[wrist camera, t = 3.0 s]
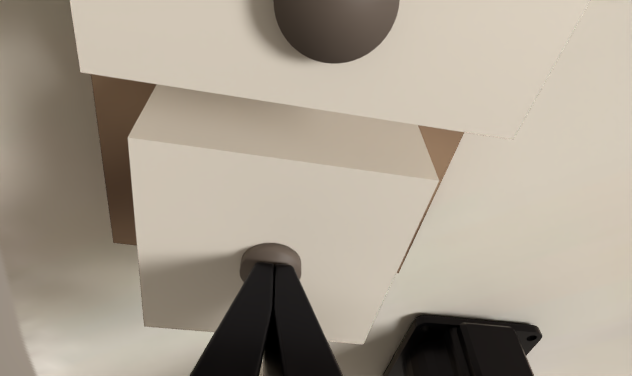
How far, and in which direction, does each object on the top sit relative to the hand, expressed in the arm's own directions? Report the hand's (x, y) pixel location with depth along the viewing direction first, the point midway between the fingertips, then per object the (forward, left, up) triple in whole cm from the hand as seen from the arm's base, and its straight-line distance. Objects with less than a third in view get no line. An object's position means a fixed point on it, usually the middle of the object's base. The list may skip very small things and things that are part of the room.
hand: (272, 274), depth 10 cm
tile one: (0, 0, -3) cm, 3 cm away
